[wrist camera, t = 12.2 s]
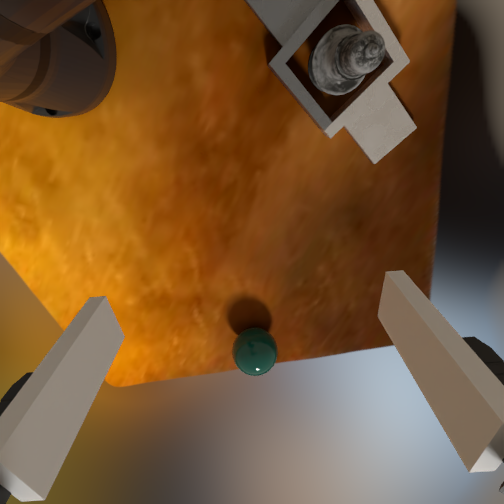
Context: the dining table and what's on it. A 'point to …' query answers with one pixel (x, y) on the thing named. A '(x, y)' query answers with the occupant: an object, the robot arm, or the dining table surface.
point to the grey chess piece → (344, 58)
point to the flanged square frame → (366, 97)
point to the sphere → (254, 351)
